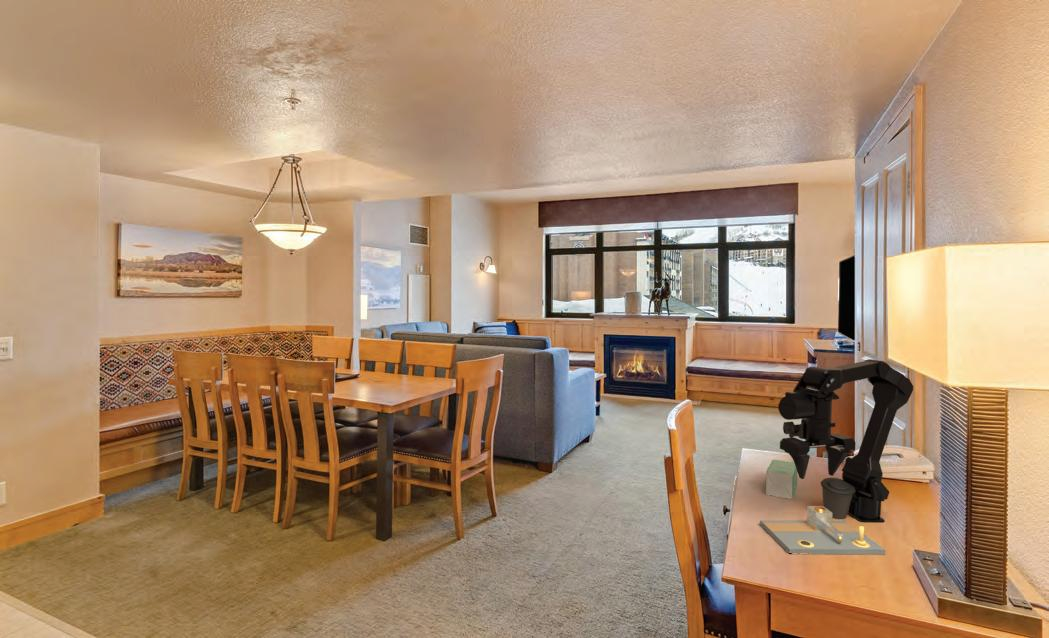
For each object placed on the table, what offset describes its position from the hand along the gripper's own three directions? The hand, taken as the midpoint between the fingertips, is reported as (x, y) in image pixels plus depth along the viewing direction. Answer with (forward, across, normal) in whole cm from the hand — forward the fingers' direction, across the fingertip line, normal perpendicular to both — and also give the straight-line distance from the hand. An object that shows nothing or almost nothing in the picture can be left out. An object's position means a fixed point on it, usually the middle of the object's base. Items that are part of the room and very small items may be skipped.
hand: (816, 476), depth 135 cm
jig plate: (+13, +5, +6) cm, 15 cm away
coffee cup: (+13, -10, -4) cm, 17 cm away
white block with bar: (+11, +3, +7) cm, 14 cm away
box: (+13, -10, -22) cm, 27 cm away
